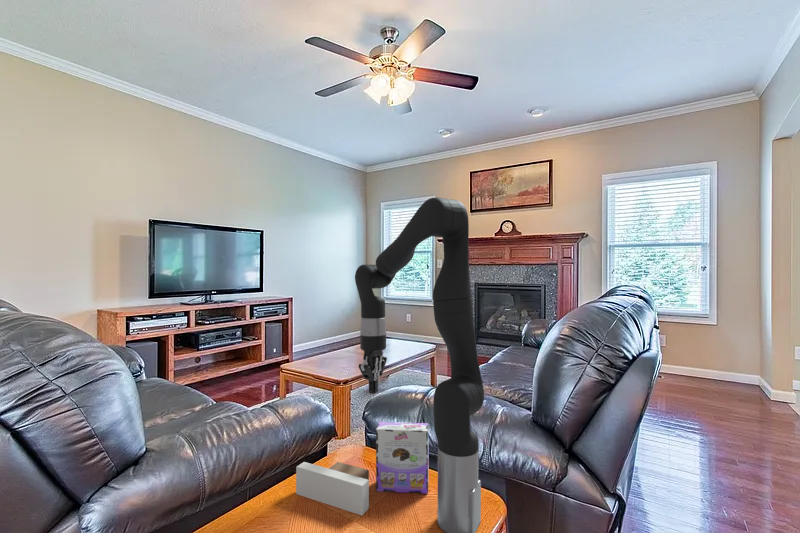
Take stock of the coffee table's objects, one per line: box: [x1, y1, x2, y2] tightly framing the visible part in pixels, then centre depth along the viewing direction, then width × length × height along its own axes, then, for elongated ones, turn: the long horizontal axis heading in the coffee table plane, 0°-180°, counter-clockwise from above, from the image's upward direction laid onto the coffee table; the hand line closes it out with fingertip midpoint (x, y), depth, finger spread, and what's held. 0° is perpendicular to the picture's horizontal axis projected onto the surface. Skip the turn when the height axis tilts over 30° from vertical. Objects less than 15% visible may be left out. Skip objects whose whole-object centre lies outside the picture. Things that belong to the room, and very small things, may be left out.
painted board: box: [295, 461, 370, 516], centre depth 100 cm, size 20×3×7 cm, turn 64°
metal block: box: [328, 461, 370, 481], centre depth 105 cm, size 10×8×5 cm
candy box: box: [375, 421, 430, 494], centre depth 106 cm, size 14×6×16 cm, turn 84°
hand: (373, 392), depth 116 cm, fingers closed
